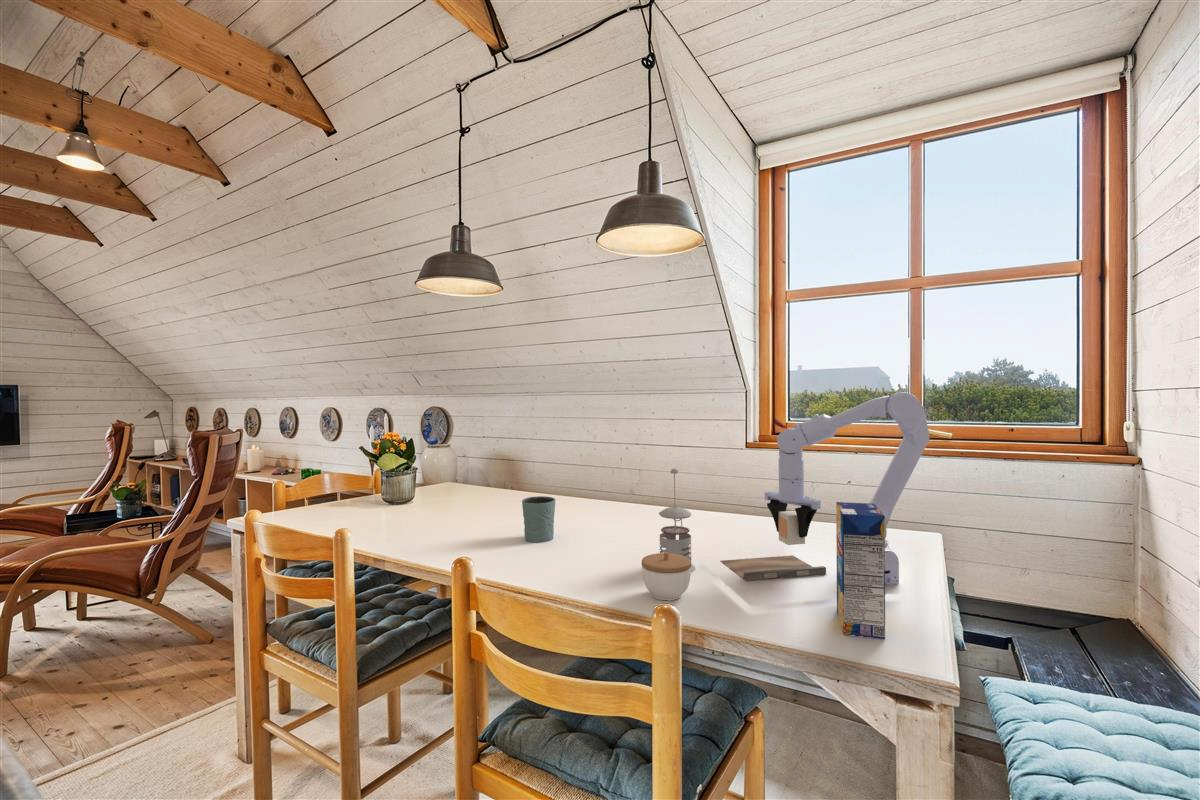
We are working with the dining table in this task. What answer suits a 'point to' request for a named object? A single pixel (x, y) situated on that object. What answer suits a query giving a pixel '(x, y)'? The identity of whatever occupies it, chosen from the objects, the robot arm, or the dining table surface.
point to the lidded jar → (666, 575)
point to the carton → (789, 528)
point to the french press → (676, 531)
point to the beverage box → (860, 569)
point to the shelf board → (772, 568)
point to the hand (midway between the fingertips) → (791, 533)
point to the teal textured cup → (538, 518)
